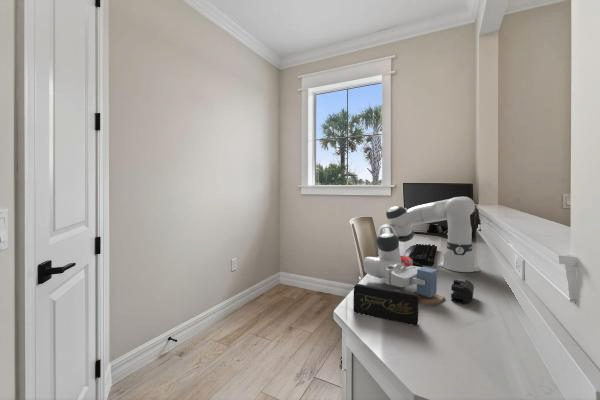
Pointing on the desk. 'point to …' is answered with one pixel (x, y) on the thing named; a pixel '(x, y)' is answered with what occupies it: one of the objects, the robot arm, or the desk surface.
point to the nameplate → (386, 304)
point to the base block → (430, 299)
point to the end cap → (462, 291)
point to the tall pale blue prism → (427, 281)
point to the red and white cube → (406, 261)
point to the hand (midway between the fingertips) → (429, 280)
